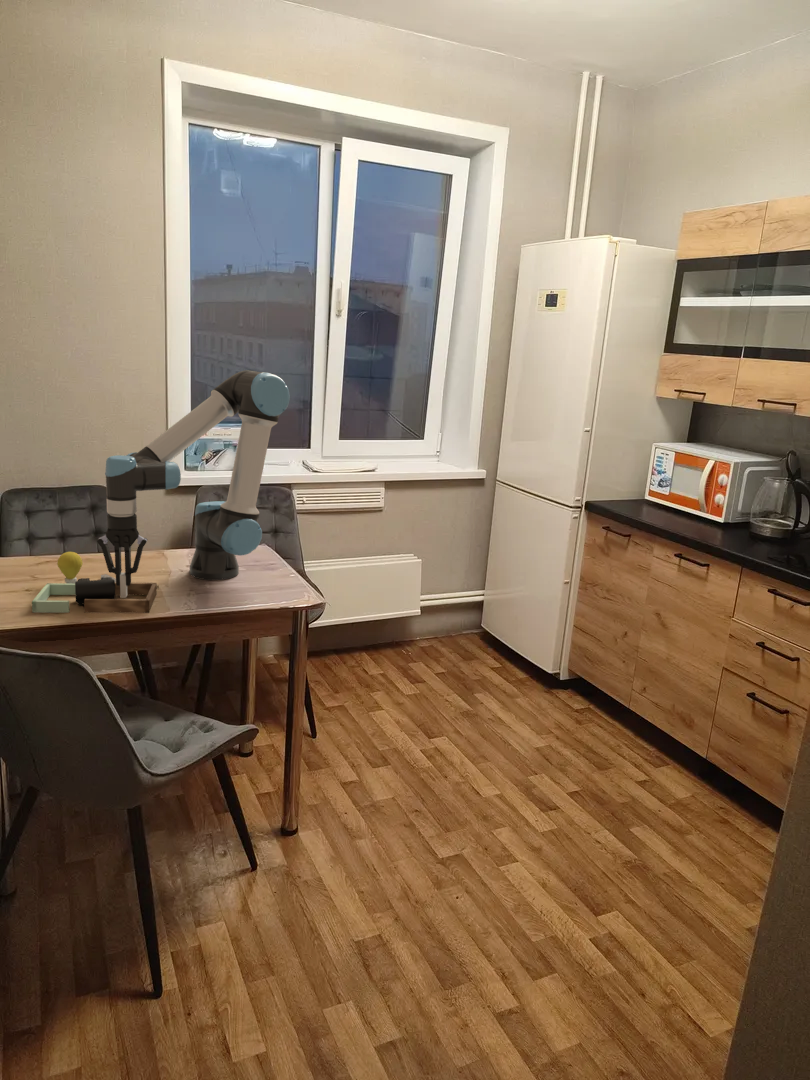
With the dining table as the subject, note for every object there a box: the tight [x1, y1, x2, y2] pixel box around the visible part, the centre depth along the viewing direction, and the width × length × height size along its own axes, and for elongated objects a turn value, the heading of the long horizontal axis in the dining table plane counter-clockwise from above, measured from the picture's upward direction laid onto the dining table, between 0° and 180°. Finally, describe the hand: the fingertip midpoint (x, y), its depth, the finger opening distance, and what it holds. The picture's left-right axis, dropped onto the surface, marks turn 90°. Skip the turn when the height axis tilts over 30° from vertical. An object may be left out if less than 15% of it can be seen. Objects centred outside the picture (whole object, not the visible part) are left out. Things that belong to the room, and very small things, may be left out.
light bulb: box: [57, 551, 83, 584], centre depth 222 cm, size 7×7×10 cm
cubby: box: [83, 581, 158, 614], centre depth 211 cm, size 16×15×4 cm
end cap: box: [74, 576, 116, 606], centre depth 210 cm, size 10×7×7 cm
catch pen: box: [31, 582, 75, 614], centre depth 208 cm, size 9×15×3 cm, turn 10°
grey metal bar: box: [100, 573, 116, 582], centre depth 227 cm, size 10×2×2 cm, turn 49°
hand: (123, 596), depth 211 cm, fingers closed
